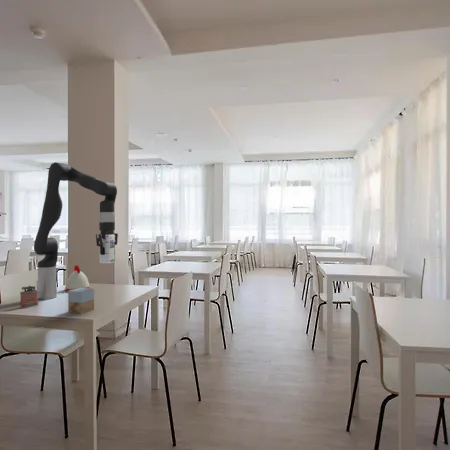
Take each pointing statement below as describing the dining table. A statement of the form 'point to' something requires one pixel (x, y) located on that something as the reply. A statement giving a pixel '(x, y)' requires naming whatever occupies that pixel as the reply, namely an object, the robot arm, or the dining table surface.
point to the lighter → (29, 296)
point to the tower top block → (80, 295)
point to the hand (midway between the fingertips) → (107, 254)
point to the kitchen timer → (76, 280)
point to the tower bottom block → (81, 306)
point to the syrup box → (108, 249)
